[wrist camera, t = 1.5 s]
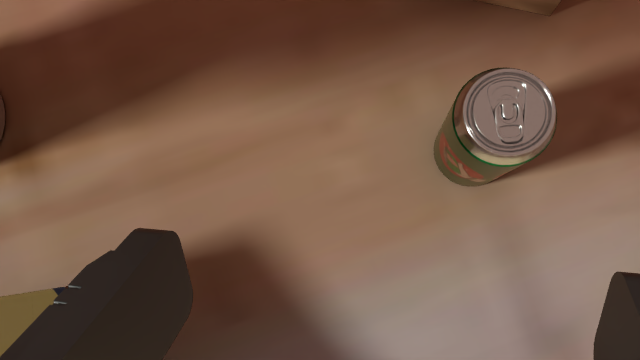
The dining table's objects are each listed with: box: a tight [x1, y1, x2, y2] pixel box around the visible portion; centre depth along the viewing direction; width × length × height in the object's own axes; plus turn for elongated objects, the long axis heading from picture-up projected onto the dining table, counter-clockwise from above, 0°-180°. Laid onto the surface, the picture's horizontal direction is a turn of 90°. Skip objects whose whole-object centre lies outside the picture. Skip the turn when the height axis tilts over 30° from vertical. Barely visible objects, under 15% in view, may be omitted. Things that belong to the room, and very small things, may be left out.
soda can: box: [434, 68, 557, 186], centre depth 30 cm, size 5×5×12 cm
